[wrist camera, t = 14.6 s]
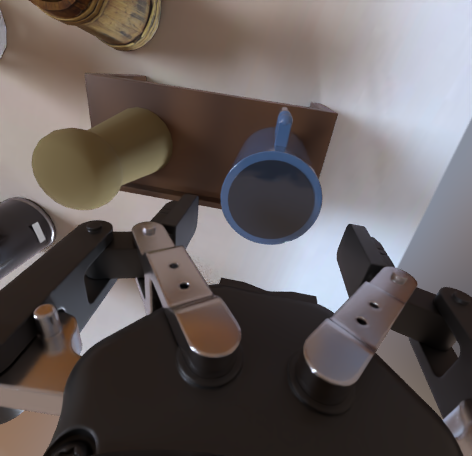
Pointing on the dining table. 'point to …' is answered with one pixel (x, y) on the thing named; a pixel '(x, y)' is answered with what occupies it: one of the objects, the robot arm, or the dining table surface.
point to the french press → (2, 35)
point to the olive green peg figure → (101, 158)
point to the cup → (272, 186)
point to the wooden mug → (108, 19)
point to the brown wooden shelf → (202, 131)
